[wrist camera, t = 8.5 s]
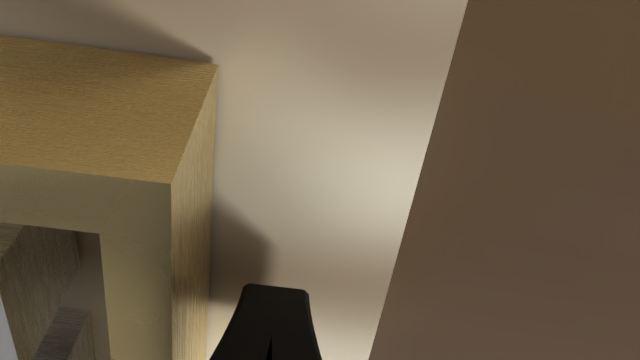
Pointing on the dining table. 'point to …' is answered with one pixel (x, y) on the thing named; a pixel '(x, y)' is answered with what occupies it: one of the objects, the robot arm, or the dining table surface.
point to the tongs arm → (32, 284)
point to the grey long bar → (68, 337)
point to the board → (286, 140)
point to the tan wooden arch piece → (118, 178)
